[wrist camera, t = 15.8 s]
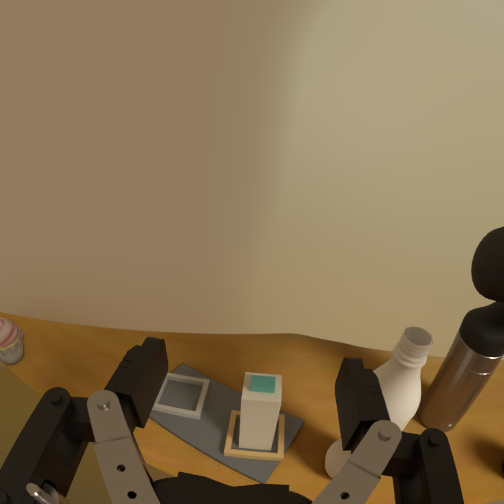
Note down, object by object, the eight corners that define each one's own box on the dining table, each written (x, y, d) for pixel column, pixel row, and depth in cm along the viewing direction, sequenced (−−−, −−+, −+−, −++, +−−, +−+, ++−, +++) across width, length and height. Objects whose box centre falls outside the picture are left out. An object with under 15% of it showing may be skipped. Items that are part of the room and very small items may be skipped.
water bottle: (312, 478, 30) (375, 349, 20) (330, 442, 36) (386, 307, 26) (359, 493, 27) (454, 370, 17) (373, 455, 33) (450, 324, 23)
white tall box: (242, 423, 39) (245, 366, 34) (271, 426, 38) (282, 369, 33) (238, 447, 34) (241, 393, 30) (270, 450, 34) (282, 396, 29)
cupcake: (37, 354, 45) (21, 314, 42) (7, 376, 37) (-13, 336, 33) (18, 337, 48) (4, 300, 44) (-9, 356, 40) (-26, 318, 36)
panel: (181, 364, 51) (181, 358, 50) (305, 423, 40) (307, 417, 39) (132, 404, 40) (130, 398, 39) (266, 485, 29) (267, 481, 28)
